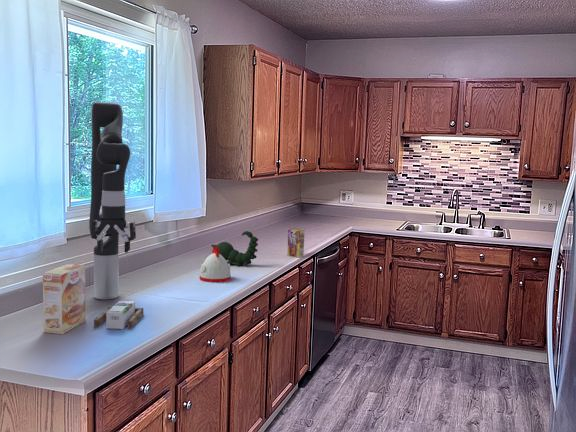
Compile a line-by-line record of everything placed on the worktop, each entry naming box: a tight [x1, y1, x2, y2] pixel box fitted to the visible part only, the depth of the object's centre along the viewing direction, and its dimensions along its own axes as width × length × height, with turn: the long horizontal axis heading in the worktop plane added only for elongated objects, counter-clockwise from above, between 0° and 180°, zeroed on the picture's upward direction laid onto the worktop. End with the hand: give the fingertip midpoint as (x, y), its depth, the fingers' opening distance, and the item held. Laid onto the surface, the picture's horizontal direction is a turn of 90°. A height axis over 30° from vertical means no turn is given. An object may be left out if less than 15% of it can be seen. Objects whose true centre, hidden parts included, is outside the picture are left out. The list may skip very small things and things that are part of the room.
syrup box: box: [105, 300, 136, 330], centre depth 203 cm, size 6×6×14 cm
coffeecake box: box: [42, 263, 87, 335], centre depth 197 cm, size 15×7×20 cm, turn 170°
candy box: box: [286, 227, 306, 258], centre depth 329 cm, size 9×4×15 cm, turn 48°
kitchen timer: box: [199, 246, 232, 283], centre depth 270 cm, size 14×14×15 cm
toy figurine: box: [210, 230, 259, 267], centre depth 302 cm, size 9×19×25 cm
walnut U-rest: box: [93, 306, 144, 330], centre depth 205 cm, size 16×12×2 cm
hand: (113, 251), depth 201 cm, fingers open, 8 cm apart
